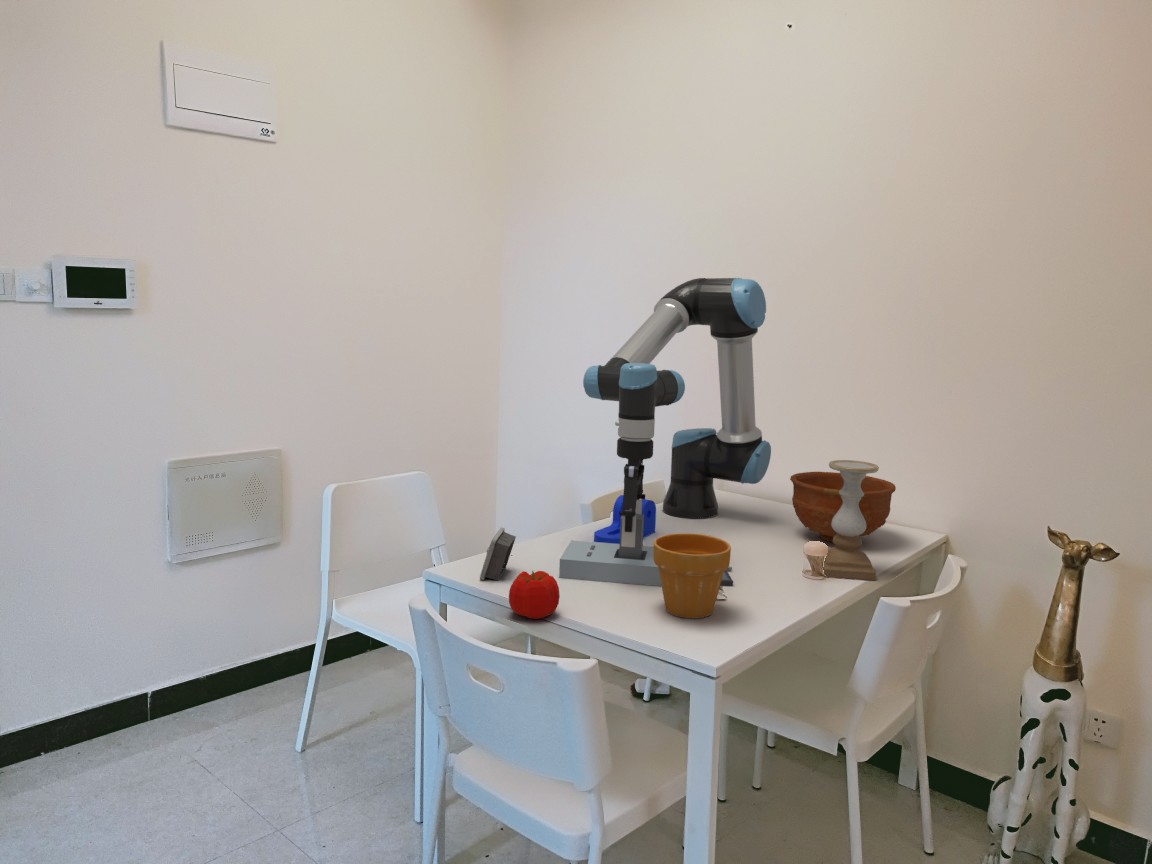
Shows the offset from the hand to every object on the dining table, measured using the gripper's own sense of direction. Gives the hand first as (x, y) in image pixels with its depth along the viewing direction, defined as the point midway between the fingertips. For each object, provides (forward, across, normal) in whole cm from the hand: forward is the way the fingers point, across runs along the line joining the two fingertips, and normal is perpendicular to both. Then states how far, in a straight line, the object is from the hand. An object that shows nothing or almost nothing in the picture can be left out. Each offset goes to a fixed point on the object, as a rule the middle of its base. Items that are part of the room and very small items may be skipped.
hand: (631, 537), depth 175 cm
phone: (+8, +1, +14) cm, 16 cm away
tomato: (+8, +28, -15) cm, 33 cm away
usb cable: (+8, -8, +14) cm, 18 cm away
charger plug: (+7, 0, 0) cm, 7 cm away
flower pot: (+8, +19, +13) cm, 24 cm away
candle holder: (+8, -13, +46) cm, 48 cm away
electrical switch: (+8, +8, -27) cm, 29 cm away
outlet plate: (+8, 0, -3) cm, 8 cm away
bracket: (+8, -26, -5) cm, 28 cm away
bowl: (+8, -39, +48) cm, 62 cm away
